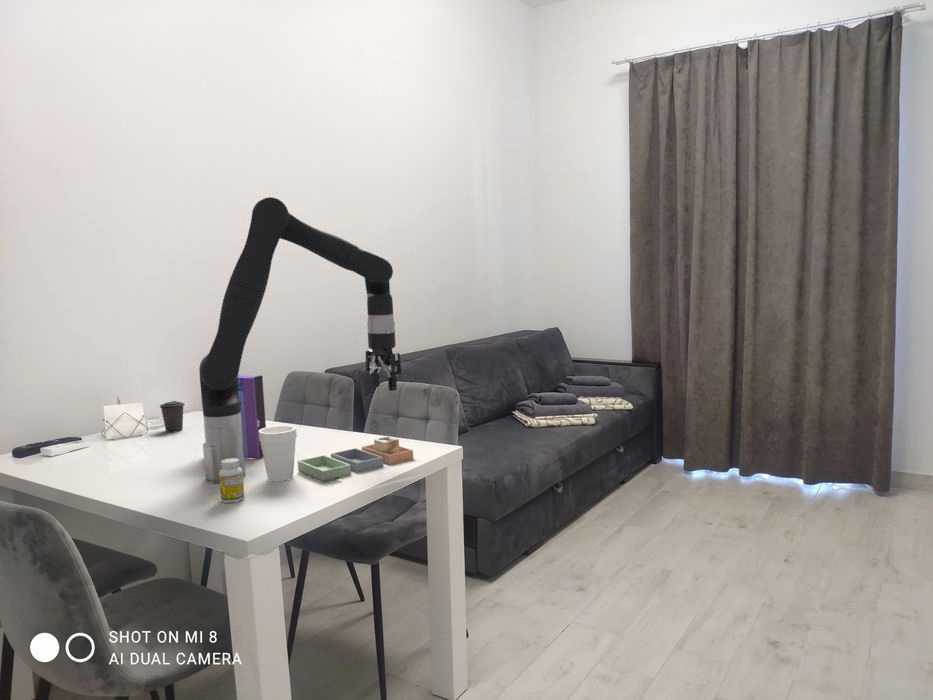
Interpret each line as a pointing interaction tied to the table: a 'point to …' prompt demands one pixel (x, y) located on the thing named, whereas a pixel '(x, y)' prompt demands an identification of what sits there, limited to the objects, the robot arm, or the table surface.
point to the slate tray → (358, 459)
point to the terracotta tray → (391, 459)
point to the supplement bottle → (231, 481)
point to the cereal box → (251, 413)
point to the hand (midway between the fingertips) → (384, 388)
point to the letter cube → (387, 445)
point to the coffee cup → (172, 415)
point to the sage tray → (324, 468)
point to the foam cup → (278, 451)
